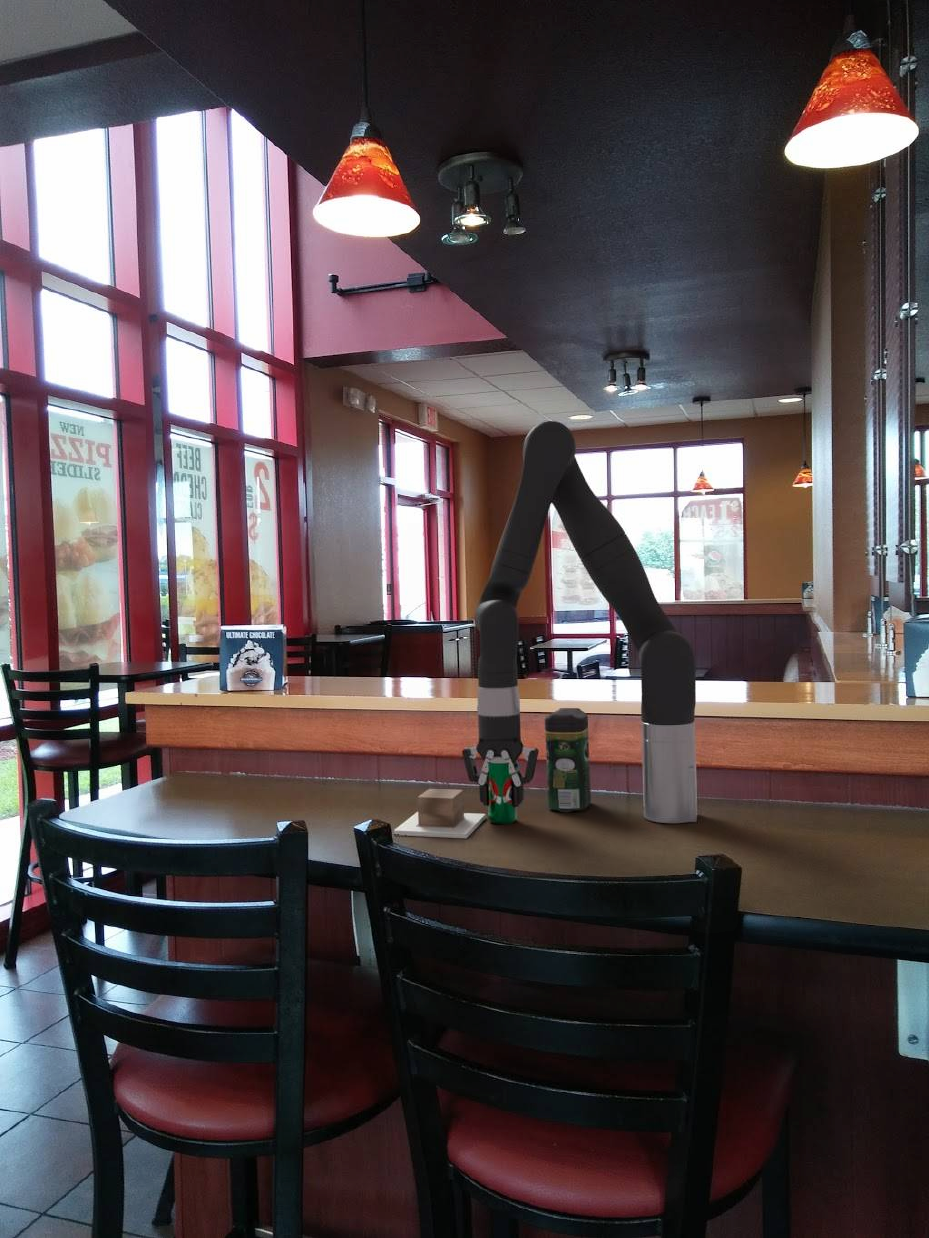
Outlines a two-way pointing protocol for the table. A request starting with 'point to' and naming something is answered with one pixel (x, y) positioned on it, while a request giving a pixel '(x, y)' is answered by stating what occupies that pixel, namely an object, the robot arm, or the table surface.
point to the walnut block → (440, 807)
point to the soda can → (500, 792)
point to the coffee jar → (567, 760)
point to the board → (457, 831)
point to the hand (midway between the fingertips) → (501, 804)
